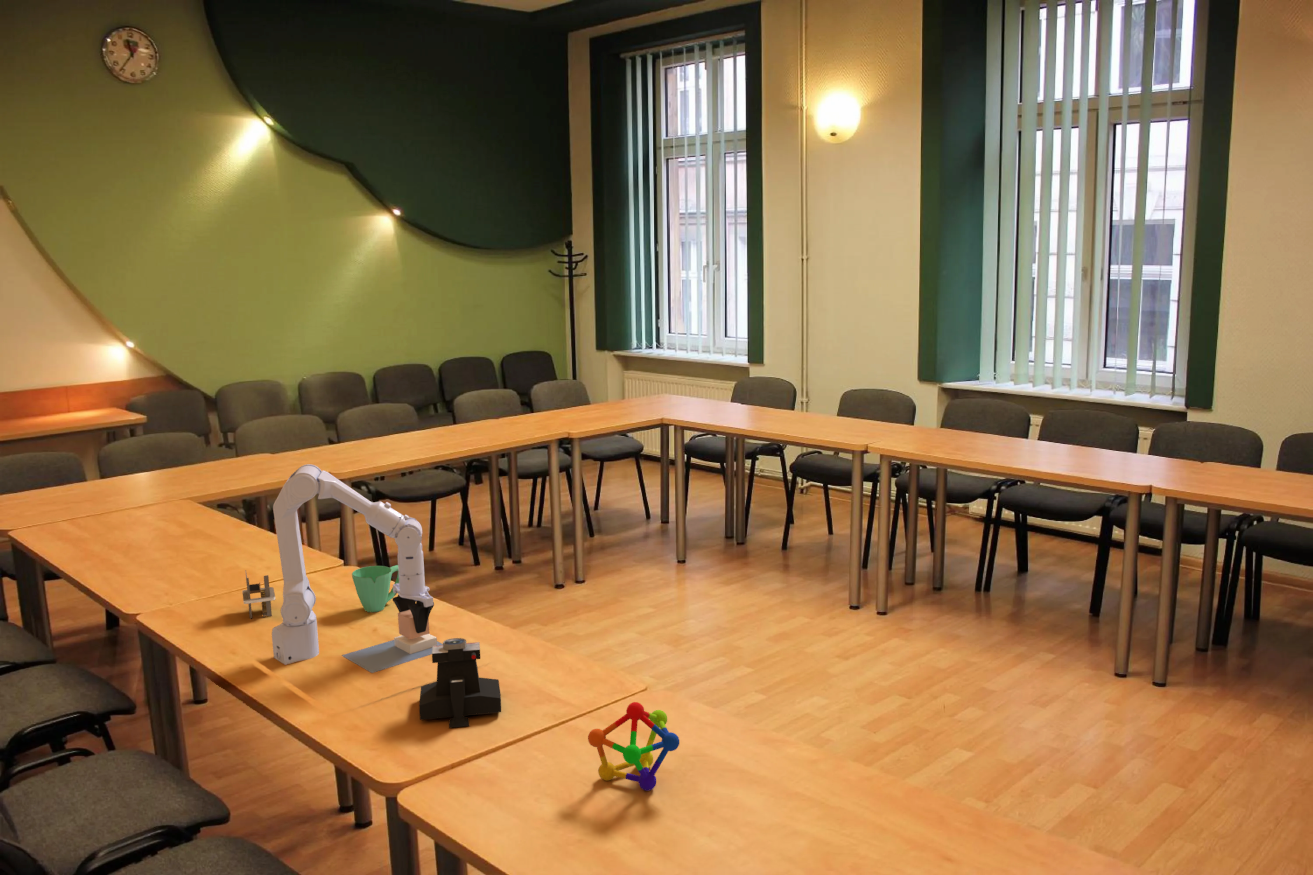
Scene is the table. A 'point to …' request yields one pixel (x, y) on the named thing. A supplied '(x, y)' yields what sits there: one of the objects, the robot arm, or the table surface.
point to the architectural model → (266, 596)
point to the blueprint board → (393, 652)
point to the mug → (374, 586)
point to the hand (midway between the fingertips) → (414, 628)
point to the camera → (458, 685)
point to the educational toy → (632, 752)
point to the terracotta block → (409, 625)
